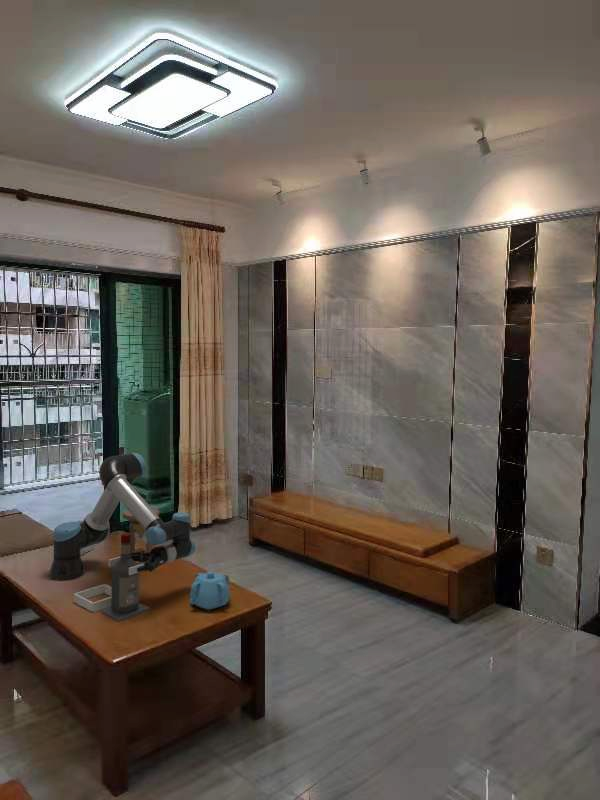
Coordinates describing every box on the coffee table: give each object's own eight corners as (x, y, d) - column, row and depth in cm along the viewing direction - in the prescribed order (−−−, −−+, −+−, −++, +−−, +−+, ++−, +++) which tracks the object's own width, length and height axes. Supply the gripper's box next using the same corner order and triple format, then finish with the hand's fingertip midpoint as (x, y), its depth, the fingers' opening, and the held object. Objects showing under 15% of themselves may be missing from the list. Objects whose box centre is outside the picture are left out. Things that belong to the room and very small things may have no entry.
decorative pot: (233, 598, 247) (234, 566, 246) (224, 614, 231) (225, 580, 230) (196, 595, 248) (197, 564, 248) (185, 611, 232) (185, 577, 232)
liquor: (141, 608, 232) (142, 534, 230) (122, 615, 225) (122, 539, 223) (128, 601, 237) (128, 529, 235) (108, 608, 230) (109, 534, 228)
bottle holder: (73, 602, 238) (73, 593, 238) (104, 591, 249) (104, 583, 249) (92, 612, 229) (92, 603, 229) (124, 601, 240) (124, 593, 240)
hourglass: (116, 560, 289) (116, 510, 288) (148, 553, 301) (148, 505, 300) (132, 569, 276) (132, 518, 275) (165, 562, 288) (165, 512, 287)
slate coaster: (100, 611, 230) (100, 609, 230) (130, 601, 240) (130, 598, 240) (119, 621, 221) (119, 619, 221) (149, 610, 232) (149, 607, 232)
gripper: (181, 570, 236) (138, 585, 220) (144, 556, 252) (101, 569, 236) (182, 552, 236) (138, 565, 219) (144, 539, 252) (101, 550, 235)
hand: (118, 567), depth 227 cm, fingers open, 13 cm apart
